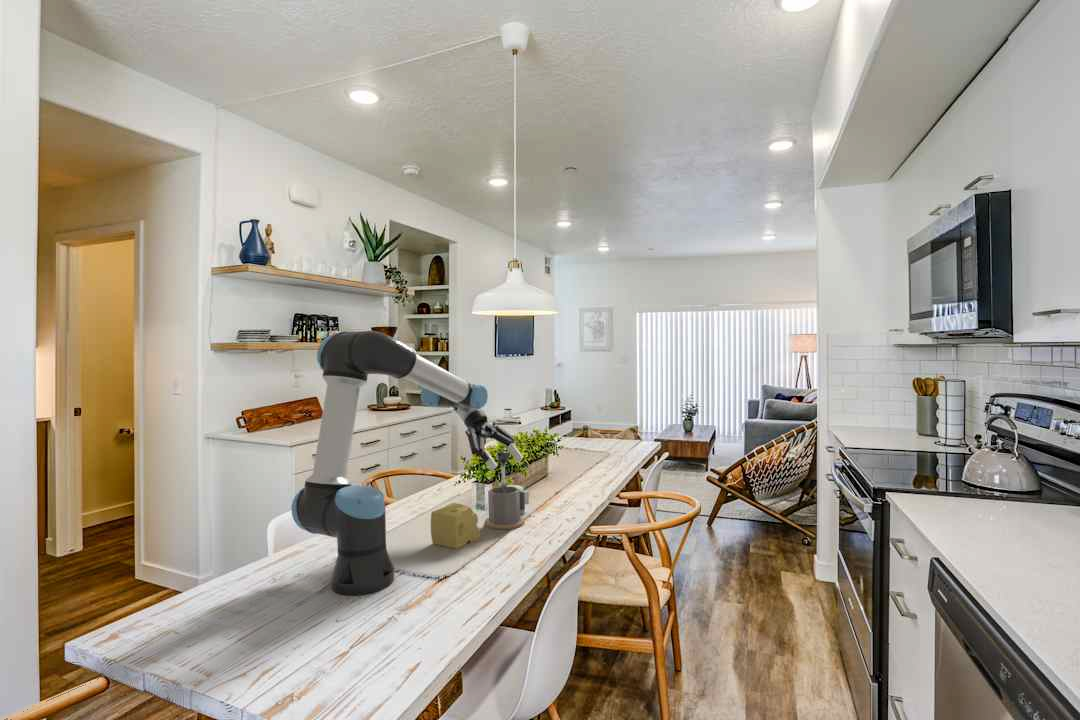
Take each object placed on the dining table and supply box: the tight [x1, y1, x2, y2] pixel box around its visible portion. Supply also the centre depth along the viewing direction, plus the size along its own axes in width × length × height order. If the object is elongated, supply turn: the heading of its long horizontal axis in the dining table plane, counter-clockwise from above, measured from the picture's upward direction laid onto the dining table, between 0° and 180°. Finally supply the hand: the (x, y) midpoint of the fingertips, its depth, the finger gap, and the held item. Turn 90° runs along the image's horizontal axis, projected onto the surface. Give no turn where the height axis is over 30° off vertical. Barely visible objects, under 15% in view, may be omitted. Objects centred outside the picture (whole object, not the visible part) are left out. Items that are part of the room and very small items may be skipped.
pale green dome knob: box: [507, 484, 530, 516], centre depth 195 cm, size 8×10×9 cm
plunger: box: [496, 450, 509, 494], centre depth 184 cm, size 6×6×16 cm
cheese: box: [430, 502, 480, 550], centre depth 169 cm, size 10×11×10 cm
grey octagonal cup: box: [484, 485, 526, 531], centre depth 185 cm, size 13×13×11 cm
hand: (508, 464), depth 183 cm, fingers open, 13 cm apart
